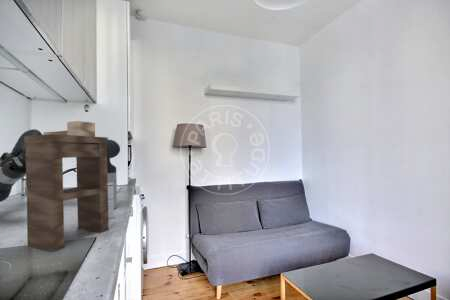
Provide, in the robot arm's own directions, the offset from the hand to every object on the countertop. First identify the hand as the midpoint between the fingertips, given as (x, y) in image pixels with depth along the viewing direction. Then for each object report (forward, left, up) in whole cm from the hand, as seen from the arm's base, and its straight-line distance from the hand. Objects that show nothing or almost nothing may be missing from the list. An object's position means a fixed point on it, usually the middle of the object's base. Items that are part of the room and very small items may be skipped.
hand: (35, 148), depth 83 cm
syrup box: (+1, +22, -29) cm, 36 cm away
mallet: (+11, +12, +3) cm, 17 cm away
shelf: (+19, +14, -29) cm, 37 cm away
